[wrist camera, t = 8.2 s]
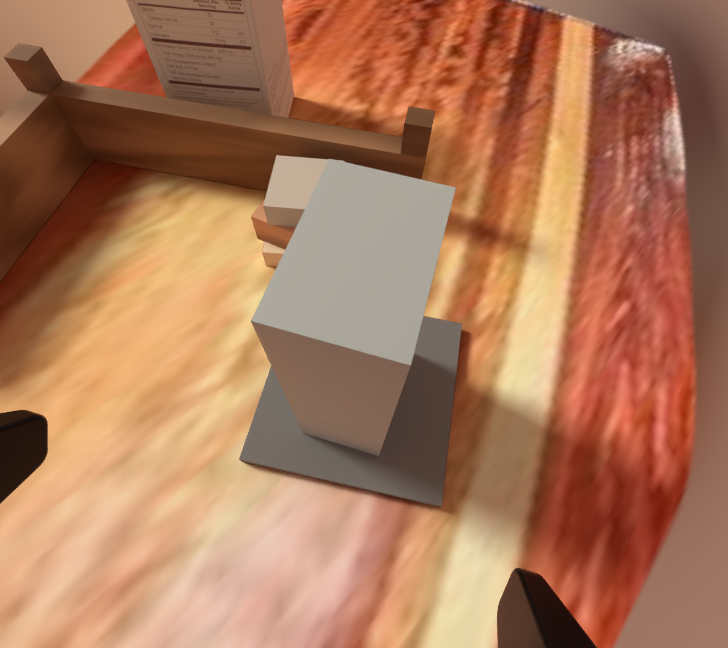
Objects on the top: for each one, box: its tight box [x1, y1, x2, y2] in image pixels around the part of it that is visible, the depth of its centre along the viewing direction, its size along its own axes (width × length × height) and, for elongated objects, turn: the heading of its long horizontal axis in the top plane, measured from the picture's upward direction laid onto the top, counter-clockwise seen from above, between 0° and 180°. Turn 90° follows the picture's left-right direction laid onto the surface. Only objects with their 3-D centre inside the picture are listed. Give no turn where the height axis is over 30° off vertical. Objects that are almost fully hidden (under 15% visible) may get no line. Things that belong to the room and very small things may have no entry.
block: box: [251, 159, 456, 456], centre depth 16 cm, size 6×4×12 cm, turn 164°
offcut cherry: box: [251, 199, 296, 250], centre depth 25 cm, size 5×4×2 cm
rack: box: [0, 44, 435, 282], centre depth 23 cm, size 18×26×7 cm
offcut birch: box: [262, 242, 285, 267], centre depth 27 cm, size 5×5×2 cm
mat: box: [239, 316, 462, 507], centre depth 22 cm, size 10×10×1 cm
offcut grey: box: [263, 155, 344, 227], centre depth 23 cm, size 4×4×2 cm
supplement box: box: [126, 0, 294, 118], centre depth 27 cm, size 7×7×13 cm
